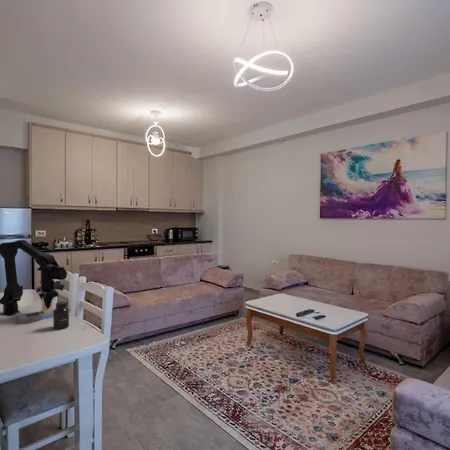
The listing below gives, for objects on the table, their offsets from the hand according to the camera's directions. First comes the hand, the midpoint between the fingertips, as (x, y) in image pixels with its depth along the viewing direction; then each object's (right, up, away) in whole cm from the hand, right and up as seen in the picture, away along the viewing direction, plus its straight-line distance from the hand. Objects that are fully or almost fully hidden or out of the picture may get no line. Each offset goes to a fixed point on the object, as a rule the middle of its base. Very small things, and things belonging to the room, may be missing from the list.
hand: (47, 307), depth 168 cm
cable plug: (0, -3, 0) cm, 3 cm away
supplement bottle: (+16, -6, -16) cm, 23 cm away
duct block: (-2, -5, -2) cm, 6 cm away
